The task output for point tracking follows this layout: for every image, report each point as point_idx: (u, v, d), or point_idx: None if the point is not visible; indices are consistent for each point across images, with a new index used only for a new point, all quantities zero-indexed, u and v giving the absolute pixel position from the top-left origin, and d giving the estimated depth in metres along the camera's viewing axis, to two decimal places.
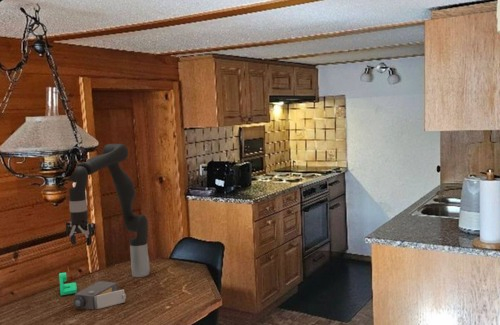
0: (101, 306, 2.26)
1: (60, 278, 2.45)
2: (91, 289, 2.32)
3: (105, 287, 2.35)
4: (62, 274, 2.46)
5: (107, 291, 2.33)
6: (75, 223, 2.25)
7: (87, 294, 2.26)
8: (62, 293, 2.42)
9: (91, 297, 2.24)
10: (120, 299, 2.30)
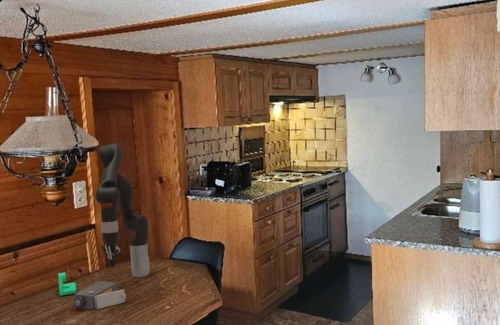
0: (101, 306, 2.26)
1: (59, 278, 2.45)
2: (91, 289, 2.32)
3: (105, 287, 2.35)
4: (61, 274, 2.46)
5: (107, 291, 2.33)
6: None
7: (87, 294, 2.26)
8: (61, 293, 2.42)
9: (91, 297, 2.24)
10: (120, 299, 2.30)
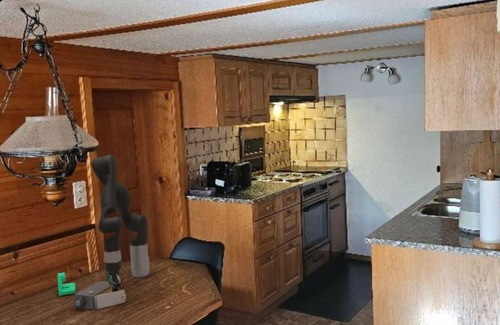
0: (101, 306, 2.26)
1: (58, 278, 2.45)
2: (91, 289, 2.32)
3: (105, 287, 2.35)
4: (60, 274, 2.46)
5: (107, 291, 2.33)
6: None
7: (87, 294, 2.26)
8: (60, 293, 2.42)
9: (91, 297, 2.24)
10: (120, 299, 2.30)
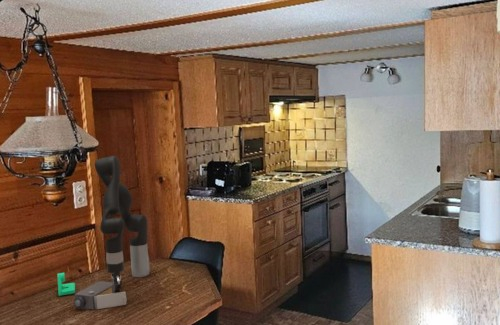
0: (101, 306, 2.25)
1: (58, 278, 2.45)
2: (91, 289, 2.32)
3: (105, 287, 2.35)
4: (60, 274, 2.46)
5: (107, 291, 2.33)
6: None
7: (87, 294, 2.26)
8: (60, 293, 2.42)
9: (91, 297, 2.24)
10: (121, 301, 2.28)
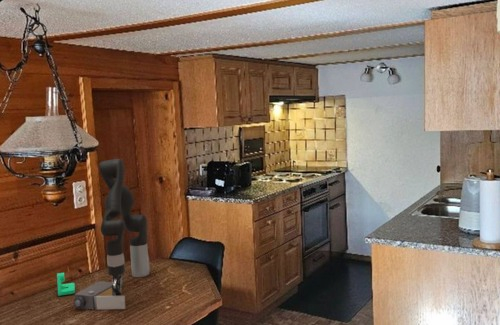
0: (100, 307, 2.24)
1: (58, 278, 2.45)
2: (91, 289, 2.32)
3: (105, 287, 2.35)
4: (60, 274, 2.46)
5: (107, 291, 2.33)
6: (118, 276, 2.24)
7: (87, 294, 2.26)
8: (60, 293, 2.42)
9: (91, 297, 2.24)
10: (119, 305, 2.23)
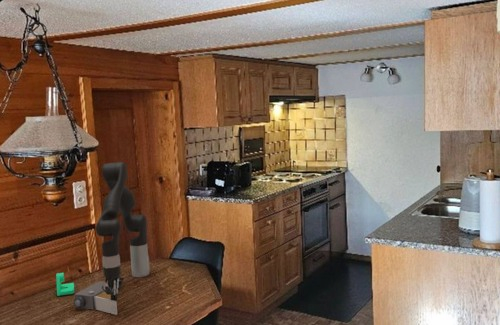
0: (98, 308, 2.23)
1: (57, 278, 2.45)
2: (91, 289, 2.32)
3: None
4: (59, 274, 2.46)
5: None
6: (112, 279, 2.18)
7: (87, 294, 2.26)
8: (59, 293, 2.42)
9: (91, 297, 2.24)
10: (112, 310, 2.18)
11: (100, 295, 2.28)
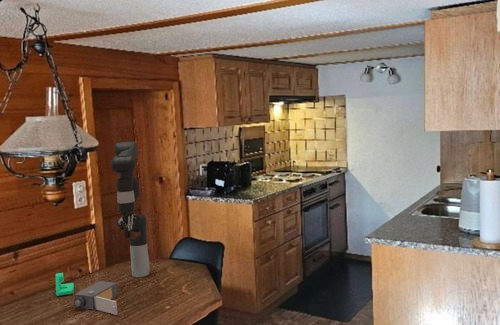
0: (98, 308, 2.23)
1: (56, 278, 2.44)
2: (91, 289, 2.32)
3: (105, 287, 2.35)
4: (58, 275, 2.46)
5: (107, 291, 2.33)
6: (127, 214, 2.23)
7: (87, 294, 2.26)
8: (58, 293, 2.42)
9: (91, 297, 2.24)
10: (112, 310, 2.18)
11: (100, 295, 2.28)
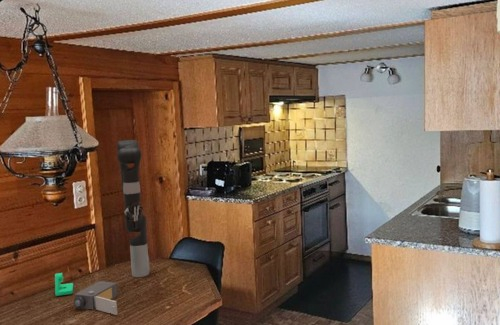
0: (98, 308, 2.23)
1: (56, 278, 2.44)
2: (91, 289, 2.32)
3: (105, 287, 2.35)
4: (58, 275, 2.46)
5: (107, 291, 2.33)
6: (133, 205, 2.25)
7: (87, 294, 2.26)
8: (57, 294, 2.42)
9: (91, 297, 2.24)
10: (112, 310, 2.18)
11: (100, 295, 2.28)
